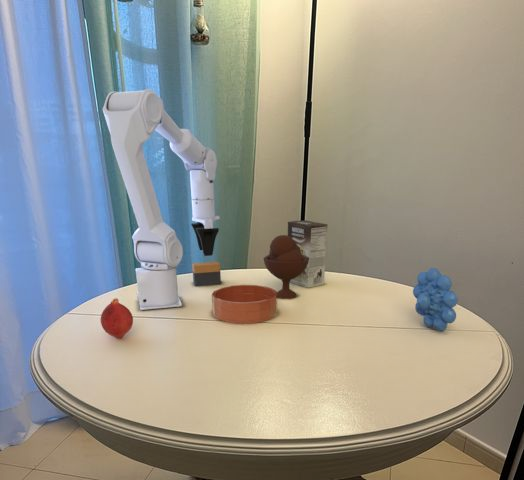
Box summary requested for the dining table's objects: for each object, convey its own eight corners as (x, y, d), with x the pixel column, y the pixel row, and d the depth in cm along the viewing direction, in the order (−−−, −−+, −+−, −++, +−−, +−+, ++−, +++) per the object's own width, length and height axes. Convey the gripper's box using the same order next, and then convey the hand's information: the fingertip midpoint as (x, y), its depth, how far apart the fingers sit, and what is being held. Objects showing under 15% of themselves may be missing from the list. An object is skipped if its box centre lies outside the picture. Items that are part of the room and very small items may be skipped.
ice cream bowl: (309, 301, 108) (312, 238, 103) (263, 301, 109) (262, 238, 103) (306, 289, 118) (308, 231, 112) (263, 289, 118) (263, 231, 112)
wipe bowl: (219, 326, 93) (218, 305, 92) (208, 306, 106) (207, 287, 104) (285, 319, 97) (285, 299, 95) (266, 300, 109) (266, 282, 108)
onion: (117, 346, 84) (111, 305, 81) (97, 340, 87) (90, 300, 84) (141, 336, 88) (136, 297, 85) (121, 330, 91) (115, 292, 88)
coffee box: (285, 281, 126) (286, 221, 120) (303, 277, 130) (304, 219, 123) (307, 288, 119) (309, 225, 113) (325, 284, 123) (328, 223, 117)
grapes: (394, 321, 96) (401, 265, 91) (419, 317, 98) (427, 262, 93) (433, 340, 86) (443, 278, 81) (460, 335, 88) (471, 274, 84)
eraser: (195, 286, 122) (194, 265, 120) (193, 282, 125) (192, 263, 123) (220, 284, 124) (220, 264, 121) (218, 281, 127) (217, 261, 124)
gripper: (224, 201, 110) (226, 257, 115) (213, 196, 123) (215, 246, 128) (195, 202, 108) (198, 258, 114) (187, 197, 121) (190, 248, 126)
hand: (205, 252), depth 121 cm, fingers open, 7 cm apart
